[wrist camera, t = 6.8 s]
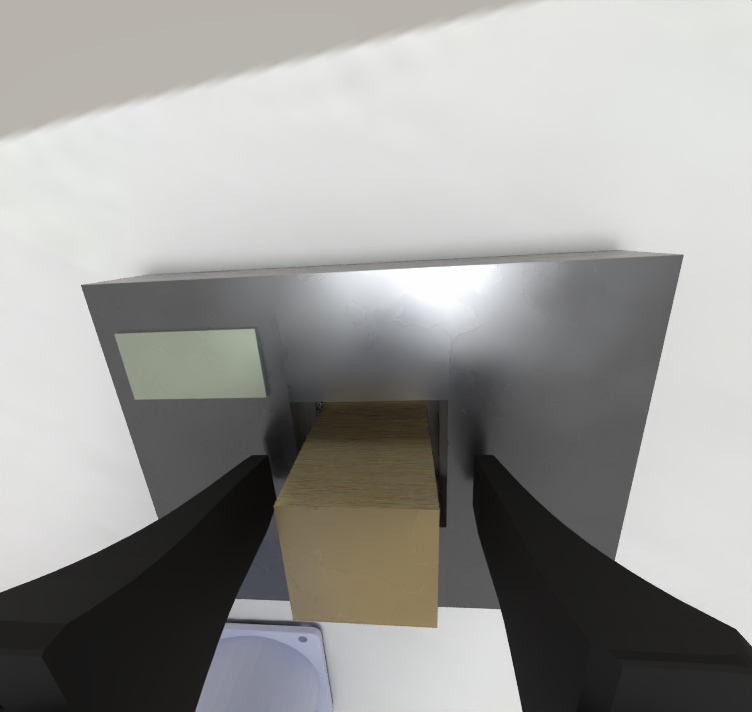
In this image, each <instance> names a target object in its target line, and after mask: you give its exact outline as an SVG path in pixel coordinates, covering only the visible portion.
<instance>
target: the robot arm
mask: <svg viewBox="0 0 752 712" xmlns="http://www.w3.org/2000/svg"><path fill="white" fill-rule="evenodd" d="M276 500H277V499H276V493H275V488H274V483H273V477H272V472H271V466H270V461H269V456H268V455H251V456H250V457H248V458H247V459H245V460H244V461H242V462H241V463H240V464H238V465H237V466H235V467H234V468H233V469H231V470H230V471H229V472H227V473H226V474H225V475H223V476H222V477H221V478H219V479H218V480H216V481H215V482H214V483H212V484H211V485H210V486H208V487H207V488H205V489H204V490H203V491H201V492H200V493H198V494H197V495H195V496H194V497H192V498H191V499H189V500H188V501H187V502H185V503H184V504H182V505H181V506H179V507H178V508H176V509H175V510H173V511H172V512H170V513H168V514H167V515H165V516H164V517H162V518H160V519H159V520H157V521H155V522H154V523H152V524H150V525H148V526H147V527H145V528H143V529H141V530H140V531H138V532H136V533H134V534H132V535H130V536H128V537H127V538H125V539H123V540H121V541H119V542H117V543H115V544H113V545H111V546H109V547H107V548H105V549H103V550H101V551H99V552H97V553H95V554H93V555H91V556H88V557H86V558H84V559H82V560H80V561H78V562H75V563H73V564H71V565H68V566H66V567H64V568H62V569H59V570H57V571H55V572H52V573H50V574H47V575H45V576H42V577H40V578H37V579H35V580H32V581H30V582H27V583H24V584H22V585H19V586H16V587H14V588H11V589H8V590H6V591H3V592H1V593H0V712H332V711H333V704H332V698H331V692H330V685H329V679H328V673H327V666H326V660H325V654H324V647H323V641H322V635H321V632H320V630H319V629H317V628H315V627H304V626H282V625H261V624H239V623H226V621H227V618H228V615H229V613H230V610H231V608H232V605H233V603H234V601H235V598H236V596H237V594H238V592H239V590H240V588H241V585H242V583H243V581H244V579H245V577H246V575H247V573H248V571H249V569H250V567H251V564H252V562H253V560H254V558H255V556H256V554H257V552H258V550H259V548H260V545H261V543H262V541H263V539H264V537H265V535H266V533H267V530H268V528H269V525H270V522H271V519H272V516H273V513H274V504H275V502H276ZM472 504H473V510H474V516H475V521H476V526H477V532H478V536H479V539H480V542H481V546H482V549H483V552H484V556H485V559H486V562H487V565H488V569H489V572H490V575H491V578H492V582H493V585H494V588H495V591H496V595H497V598H498V601H499V605H500V608H501V612H502V616H503V620H504V624H505V628H506V633H507V638H508V642H509V647H510V652H511V656H512V661H513V666H514V671H515V676H516V681H517V686H518V691H519V696H520V701H521V706H522V711H523V712H752V646H751V645H750V644H749V643H748V642H747V641H746V640H745V638H744V637H743V636H742V635H741V634H740V633H739V632H738V631H737V630H736V629H734V628H733V627H731V626H729V625H727V624H725V623H723V622H721V621H719V620H717V619H715V618H713V617H711V616H709V615H707V614H705V613H703V612H702V611H700V610H698V609H696V608H694V607H692V606H690V605H688V604H686V603H684V602H682V601H680V600H678V599H677V598H675V597H673V596H671V595H670V594H668V593H666V592H664V591H663V590H661V589H659V588H657V587H656V586H654V585H652V584H651V583H649V582H647V581H645V580H644V579H642V578H641V577H639V576H637V575H636V574H634V573H632V572H631V571H629V570H628V569H626V568H624V567H623V566H621V565H620V564H618V563H617V562H615V561H614V560H612V559H611V558H609V557H608V556H606V555H605V554H603V553H602V552H600V551H599V550H598V549H596V548H595V547H593V546H592V545H591V544H589V543H588V542H587V541H585V540H584V539H583V538H581V537H580V536H579V535H577V534H576V533H575V532H573V531H572V530H571V529H570V528H568V527H567V526H566V525H565V524H563V523H562V522H561V521H560V520H558V519H557V518H556V517H555V516H554V515H553V514H552V513H550V512H549V511H548V510H547V509H546V508H545V507H544V506H543V505H542V504H540V503H539V502H538V501H537V500H536V499H535V498H534V497H533V496H532V495H531V494H530V493H529V492H528V491H527V490H526V489H525V488H524V487H523V486H522V485H521V484H520V483H519V482H518V481H517V480H516V479H515V478H514V477H513V476H512V474H511V473H510V472H509V471H508V470H507V469H506V468H505V467H504V466H503V465H502V464H501V463H500V461H499V460H498V459H497V458H496V457H495V456H494V455H475V456H474V479H473V502H472Z"/></svg>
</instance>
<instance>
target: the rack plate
mask: <svg viewBox="0 0 752 712" xmlns="http://www.w3.org/2000/svg"><path fill="white" fill-rule="evenodd" d="M682 260H683V255H680V254H666V253H651V252H637V251H623V250H615V251H596V252H577V253H558V254H539V255H519V256H500V257H481V258H462V259H443V260H424V261H405V262H385V263H366V264H347V265H328V266H309V267H290V268H271V269H252V270H232V271H213V272H194V273H175V274H156V275H143V276H137V277H130V278H124V279H117V280H111V281H104V282H98V283H91V284H85V285H81V287H82V290H83V293H84V296H85V299H86V302H87V305H88V308H89V311H90V314H91V317H92V320H93V323H94V326H95V329H96V332H97V335H98V338H99V341H100V344H101V347H102V350H103V353H104V356H105V359H106V362H107V365H108V368H109V371H110V374H111V377H112V380H113V383H114V386H115V389H116V392H117V395H118V398H119V401H120V404H121V407H122V410H123V414H124V417H125V420H126V423H127V426H128V429H129V432H130V435H131V438H132V441H133V444H134V447H135V450H136V453H137V456H138V459H139V462H140V465H141V468H142V471H143V474H144V477H145V480H146V483H147V486H148V489H149V492H150V495H151V498H152V501H153V504H154V507H155V510H156V513H157V516H158V519H160V518H162V517H164V516H165V515H167V514H168V513H170V512H172V511H173V510H175V509H176V508H178V507H179V506H181V505H182V504H184V503H185V502H187V501H188V500H189V499H191V498H192V497H194V496H195V495H197V494H198V493H200V492H201V491H203V490H204V489H205V488H207V487H208V486H210V485H211V484H212V483H214V482H215V481H216V480H218V479H219V478H221V477H222V476H223V475H225V474H226V473H227V472H229V471H230V470H231V469H233V468H234V467H235V466H237V465H238V464H240V463H241V462H242V461H244V460H245V459H247V458H248V457H250V456H251V455H268V456H269V461H270V466H271V472H272V477H273V483H274V488H275V493H276V499H277V498H278V496H279V494H280V492H281V490H282V488H283V486H284V484H285V482H286V479H287V477H288V475H289V473H290V471H291V469H292V467H293V465H294V463H295V461H296V459H297V457H298V455H299V453H300V451H301V449H302V446H303V444H304V442H305V440H306V438H307V436H308V434H309V432H310V430H311V428H312V426H313V424H314V422H315V420H316V418H317V409H316V402H350V401H416V400H439V476H435V478H436V486H437V493H438V501H439V509H440V516H439V564H438V607H460V608H485V609H501V608H500V605H499V601H498V598H497V595H496V591H495V588H494V585H493V582H492V578H491V575H490V572H489V569H488V565H487V562H486V559H485V556H484V552H483V549H482V546H481V542H480V539H479V536H478V532H477V526H476V521H475V516H474V510H473V504H472V502H473V479H474V456H475V455H494V456H495V457H496V458H497V459H498V460H499V461H500V463H501V464H502V465H503V466H504V467H505V468H506V469H507V470H508V471H509V472H510V473H511V474H512V476H513V477H514V478H515V479H516V480H517V481H518V482H519V483H520V484H521V485H522V486H523V487H524V488H525V489H526V490H527V491H528V492H529V493H530V494H531V495H532V496H533V497H534V498H535V499H536V500H537V501H538V502H539V503H540V504H542V505H543V506H544V507H545V508H546V509H547V510H548V511H549V512H550V513H552V514H553V515H554V516H555V517H556V518H557V519H558V520H560V521H561V522H562V523H563V524H565V525H566V526H567V527H568V528H570V529H571V530H572V531H573V532H575V533H576V534H577V535H579V536H580V537H581V538H583V539H584V540H585V541H587V542H588V543H589V544H591V545H592V546H593V547H595V548H596V549H598V550H599V551H600V552H602V553H603V554H605V555H606V556H608V557H609V558H611V559H612V560H614V561H615V556H616V552H617V547H618V543H619V539H620V534H621V530H622V525H623V521H624V516H625V512H626V508H627V503H628V499H629V494H630V490H631V486H632V481H633V477H634V472H635V468H636V463H637V459H638V455H639V450H640V446H641V441H642V437H643V432H644V428H645V424H646V419H647V415H648V410H649V406H650V401H651V397H652V393H653V388H654V384H655V379H656V375H657V370H658V366H659V362H660V357H661V353H662V348H663V344H664V339H665V335H666V331H667V326H668V322H669V317H670V313H671V308H672V304H673V300H674V295H675V291H676V286H677V282H678V278H679V273H680V269H681V264H682ZM235 599H256V600H281V601H290V598H289V592H288V586H287V580H286V575H285V569H284V563H283V557H282V552H281V546H280V540H279V534H278V529H277V523H276V517H275V511H274V513H273V516H272V519H271V522H270V525H269V528H268V530H267V533H266V535H265V537H264V539H263V541H262V543H261V545H260V548H259V550H258V552H257V554H256V556H255V558H254V560H253V562H252V564H251V567H250V569H249V571H248V573H247V575H246V577H245V579H244V581H243V583H242V585H241V588H240V590H239V592H238V594H237V596H236V598H235Z"/></svg>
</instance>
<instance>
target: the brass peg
mask: <svg viewBox="0 0 752 712" xmlns="http://www.w3.org/2000/svg"><path fill="white" fill-rule="evenodd" d="M274 511H275V517H276V523H277V529H278V534H279V540H280V546H281V552H282V557H283V563H284V569H285V575H286V580H287V586H288V592H289V598H290V603H291V609H292V615H293V620H299V621H317V622H336V623H355V624H374V625H393V626H412V627H431V628H437V612H438V564H439V516H440V509H439V501H438V493H437V486H436V478H435V470H434V462H433V455H432V447H431V439H430V431H429V423H428V416H427V408H426V400H416V401H350V402H324V403H323V405H322V407H321V409H320V411H319V413H318V415H317V418H316V420H315V422H314V424H313V426H312V428H311V430H310V432H309V434H308V436H307V438H306V440H305V442H304V444H303V446H302V449H301V451H300V453H299V455H298V457H297V459H296V461H295V463H294V465H293V467H292V469H291V471H290V473H289V475H288V477H287V479H286V482H285V484H284V486H283V488H282V490H281V492H280V494H279V496H278V498H277V500H276V502H275V504H274Z"/></svg>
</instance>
